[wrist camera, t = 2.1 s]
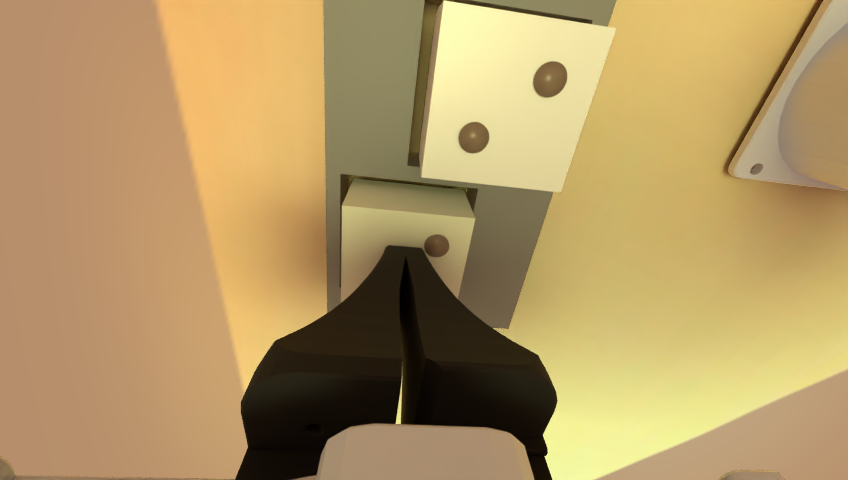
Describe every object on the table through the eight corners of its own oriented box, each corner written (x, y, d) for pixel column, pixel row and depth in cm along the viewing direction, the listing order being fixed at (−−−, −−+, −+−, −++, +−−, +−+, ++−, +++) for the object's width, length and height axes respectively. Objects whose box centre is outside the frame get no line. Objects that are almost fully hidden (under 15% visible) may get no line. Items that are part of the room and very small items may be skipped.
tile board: (683, -320, 9) (751, -412, 7) (498, 303, 19) (508, 328, 17) (336, -417, 8) (316, -547, 6) (335, 291, 18) (327, 316, 16)
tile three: (463, 189, 14) (475, 220, 12) (446, 279, 16) (453, 320, 14) (353, 178, 14) (341, 206, 11) (350, 271, 16) (340, 312, 13)
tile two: (571, 33, 11) (618, 28, 9) (532, 167, 14) (561, 193, 11) (435, 11, 11) (443, -1, 8) (418, 153, 13) (421, 178, 11)
